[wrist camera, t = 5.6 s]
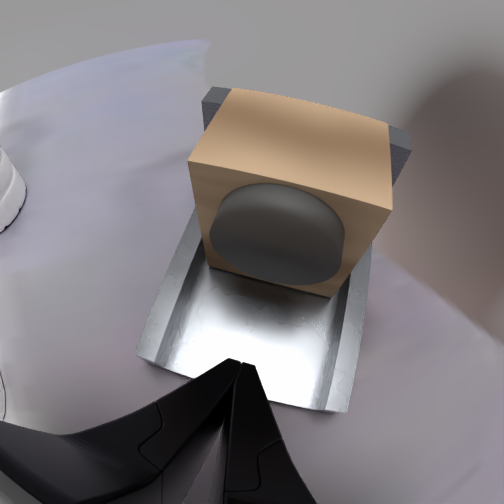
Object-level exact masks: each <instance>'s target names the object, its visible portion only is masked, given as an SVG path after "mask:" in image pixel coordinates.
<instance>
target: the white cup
mask: <svg viewBox="0 0 504 504" xmlns="http://www.w3.org/2000/svg"><path fill="white" fill-rule="evenodd" d="M4 414H5V391H4V387H3V383H2V380H1V376H0V421H2V420H3V417H4Z"/></svg>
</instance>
